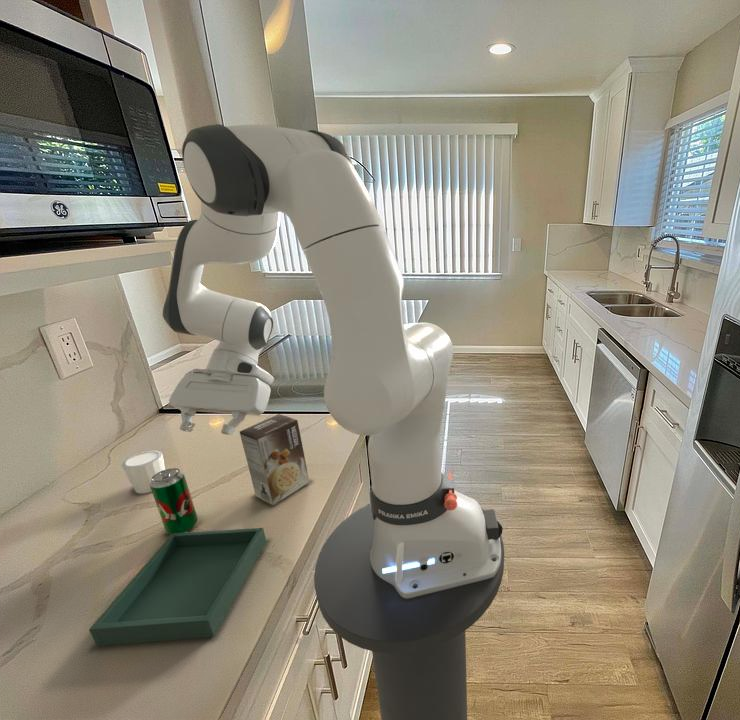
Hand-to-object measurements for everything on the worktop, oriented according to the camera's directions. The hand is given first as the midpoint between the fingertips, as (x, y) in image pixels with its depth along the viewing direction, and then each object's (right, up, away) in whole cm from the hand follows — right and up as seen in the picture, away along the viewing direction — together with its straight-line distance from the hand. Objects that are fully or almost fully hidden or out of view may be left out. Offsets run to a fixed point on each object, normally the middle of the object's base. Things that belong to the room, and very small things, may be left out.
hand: (205, 432), depth 80 cm
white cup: (-18, -13, +8) cm, 23 cm away
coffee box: (+13, -14, +6) cm, 20 cm away
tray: (+10, -22, -17) cm, 29 cm away
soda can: (-1, -18, -4) cm, 18 cm away
